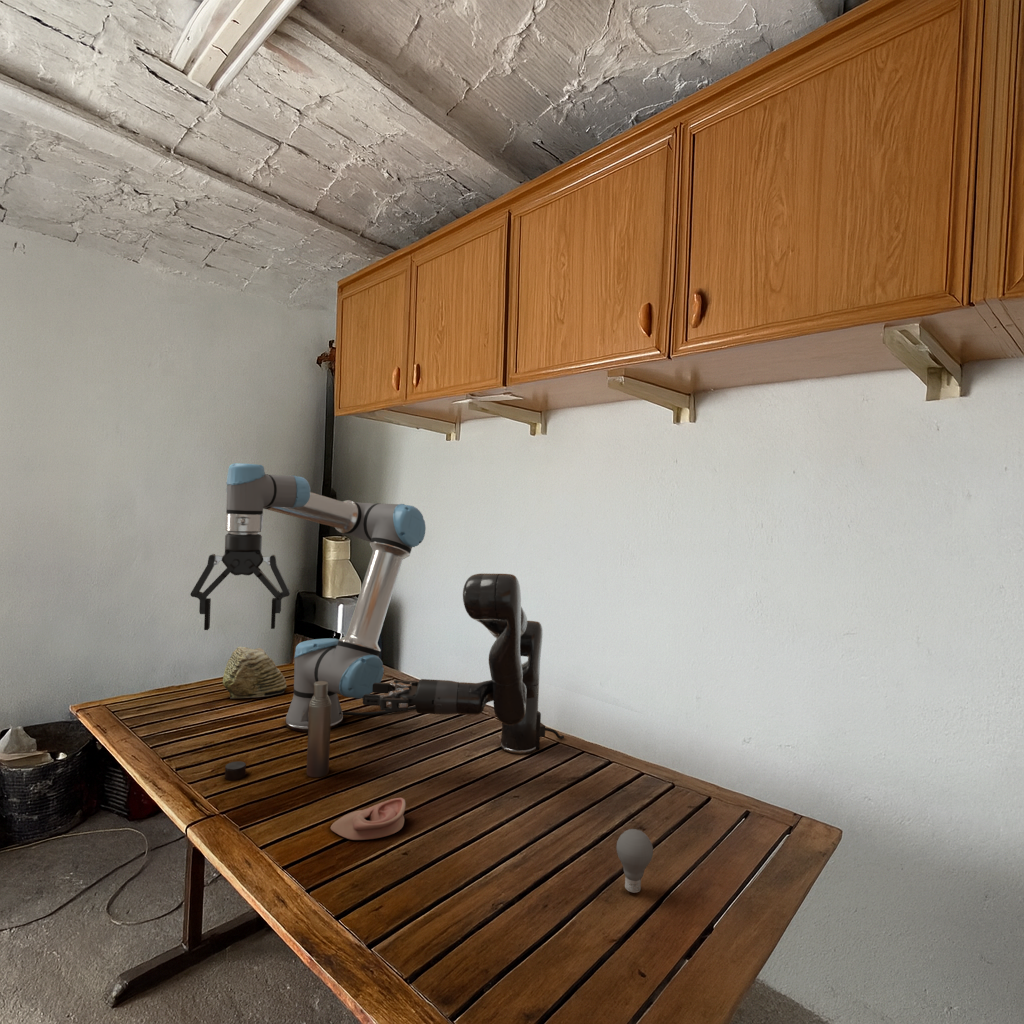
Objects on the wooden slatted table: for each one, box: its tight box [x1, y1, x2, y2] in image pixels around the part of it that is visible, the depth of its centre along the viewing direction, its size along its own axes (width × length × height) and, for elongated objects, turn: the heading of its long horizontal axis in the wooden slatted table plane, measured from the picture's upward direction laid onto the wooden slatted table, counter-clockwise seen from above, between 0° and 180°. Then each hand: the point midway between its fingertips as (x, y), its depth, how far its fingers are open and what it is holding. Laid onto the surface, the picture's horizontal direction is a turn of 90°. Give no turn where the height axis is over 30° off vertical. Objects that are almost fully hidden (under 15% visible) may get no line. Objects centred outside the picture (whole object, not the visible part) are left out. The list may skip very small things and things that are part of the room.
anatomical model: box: [330, 797, 407, 841], centre depth 123 cm, size 13×4×12 cm
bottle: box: [306, 681, 331, 778], centre depth 145 cm, size 5×5×21 cm
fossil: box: [222, 646, 288, 699], centre depth 198 cm, size 9×18×15 cm, turn 132°
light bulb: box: [615, 828, 654, 894], centre depth 106 cm, size 6×6×10 cm
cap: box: [224, 760, 247, 781], centre depth 142 cm, size 4×4×2 cm
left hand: (240, 628), depth 141 cm, fingers open, 13 cm apart
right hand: (368, 693), depth 145 cm, fingers open, 8 cm apart
